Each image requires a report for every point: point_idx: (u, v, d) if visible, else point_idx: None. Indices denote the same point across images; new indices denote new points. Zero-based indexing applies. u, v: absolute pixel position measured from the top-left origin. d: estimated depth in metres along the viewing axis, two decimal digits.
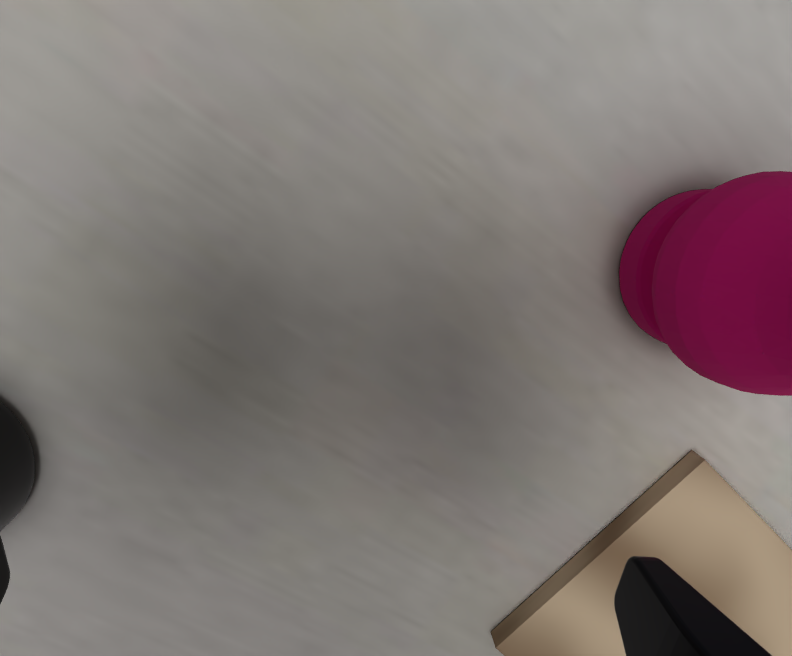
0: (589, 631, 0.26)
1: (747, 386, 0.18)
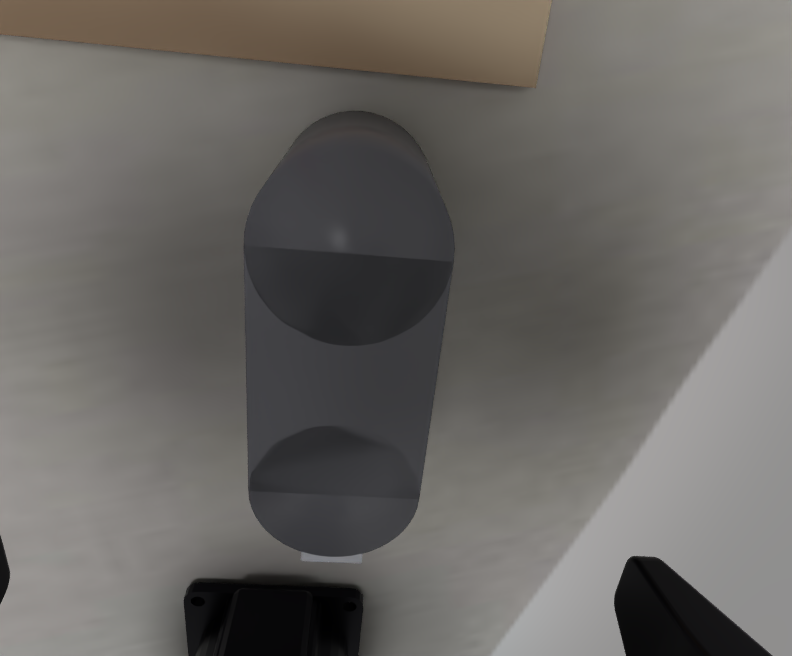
0: None
1: None
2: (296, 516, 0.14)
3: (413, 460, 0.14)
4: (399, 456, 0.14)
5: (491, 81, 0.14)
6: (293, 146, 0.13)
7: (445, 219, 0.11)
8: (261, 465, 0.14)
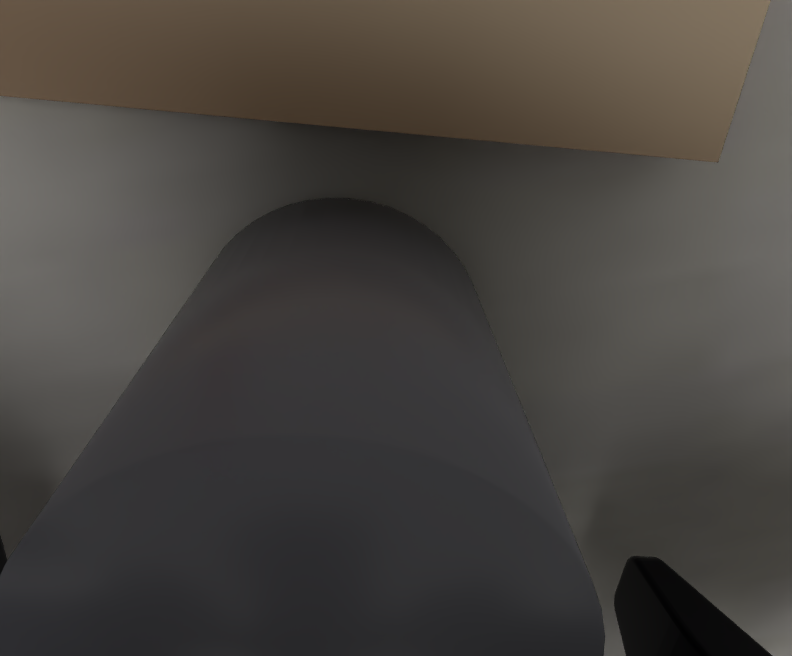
0: None
1: None
2: None
3: None
4: None
5: (626, 149, 0.06)
6: (186, 310, 0.06)
7: (585, 601, 0.04)
8: None
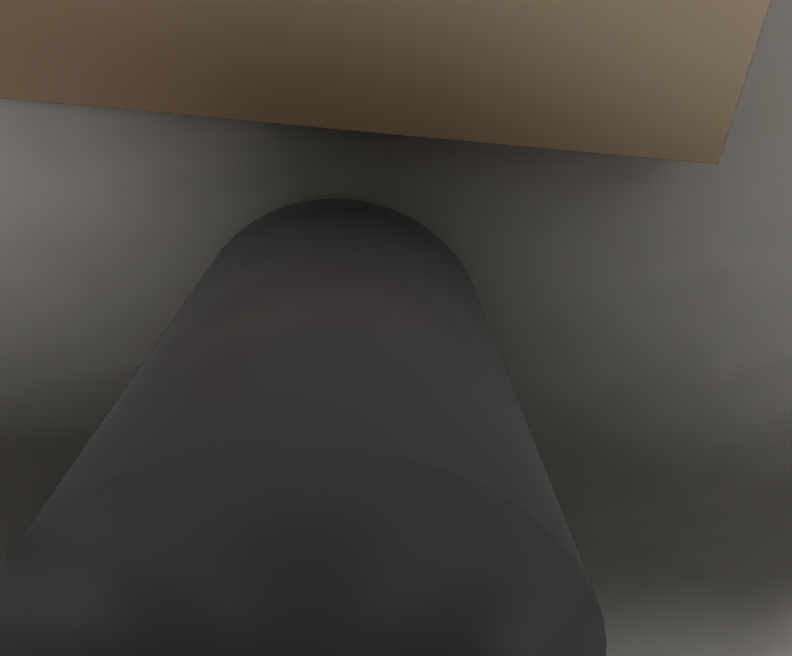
0: None
1: None
2: None
3: None
4: None
5: (625, 151, 0.06)
6: (183, 312, 0.06)
7: (586, 609, 0.04)
8: None
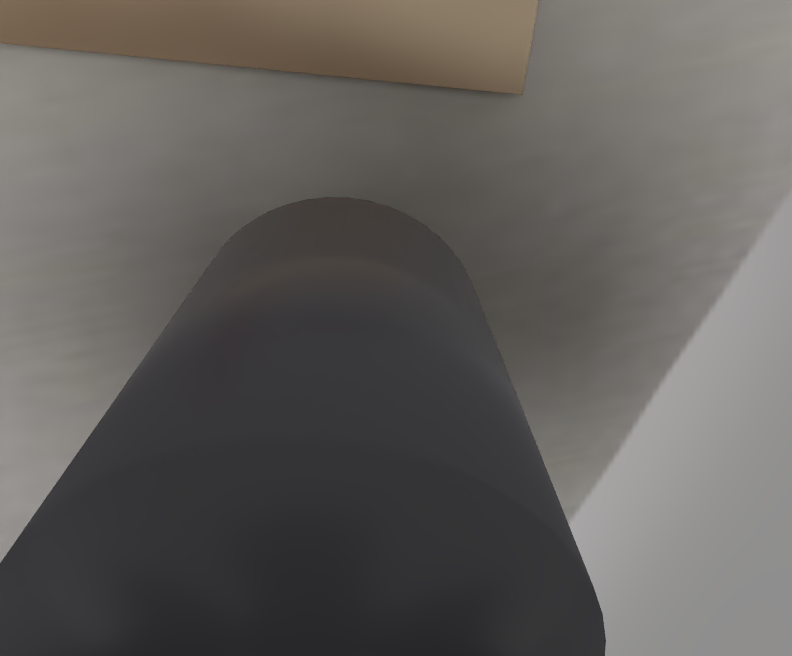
0: None
1: None
2: None
3: None
4: None
5: (480, 88, 0.15)
6: (183, 310, 0.06)
7: (585, 605, 0.04)
8: None
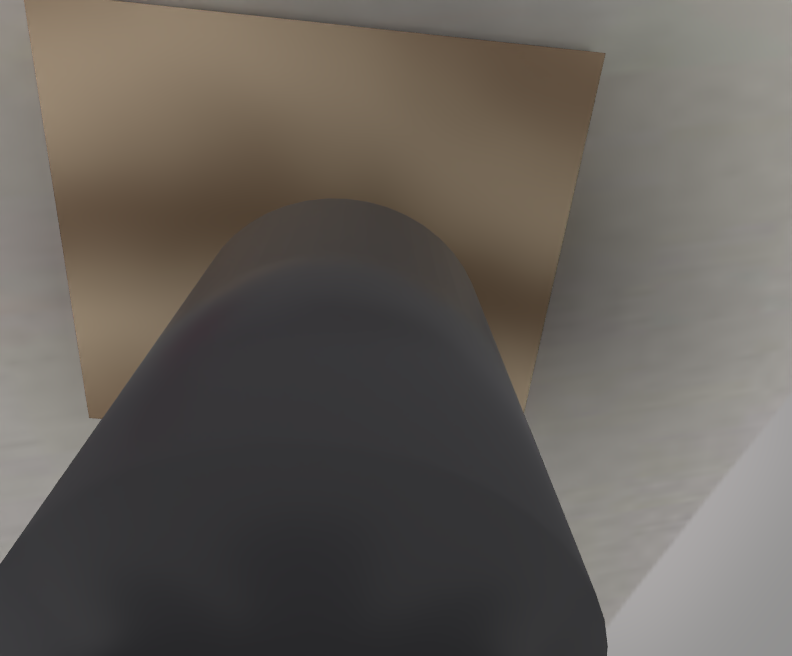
0: (160, 330, 0.18)
1: None
2: None
3: None
4: None
5: None
6: (182, 312, 0.06)
7: (587, 611, 0.04)
8: None
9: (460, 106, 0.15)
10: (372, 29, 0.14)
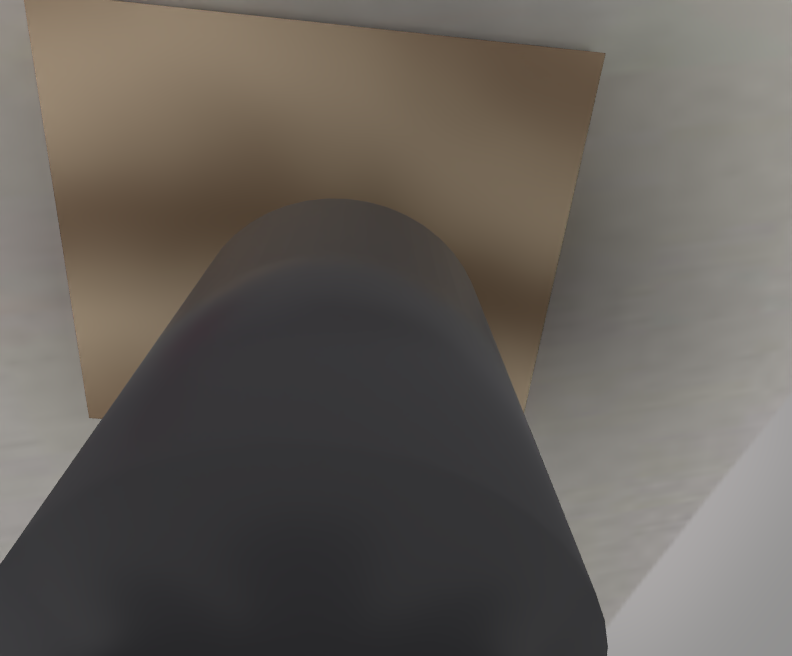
0: (160, 330, 0.18)
1: None
2: None
3: None
4: None
5: None
6: (182, 312, 0.06)
7: (587, 611, 0.04)
8: None
9: (460, 106, 0.15)
10: (372, 29, 0.14)
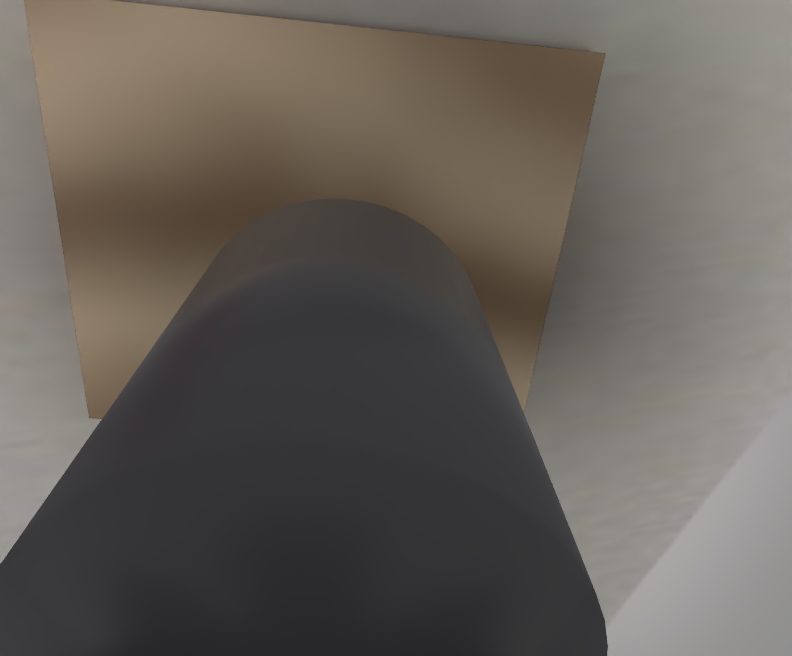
0: (160, 330, 0.18)
1: None
2: None
3: None
4: None
5: None
6: (182, 312, 0.06)
7: (587, 611, 0.04)
8: None
9: (460, 106, 0.15)
10: (372, 29, 0.14)
